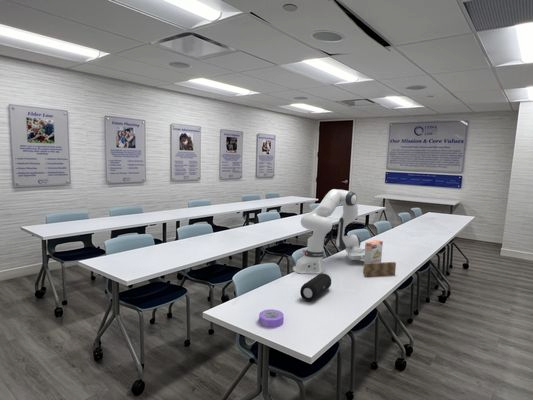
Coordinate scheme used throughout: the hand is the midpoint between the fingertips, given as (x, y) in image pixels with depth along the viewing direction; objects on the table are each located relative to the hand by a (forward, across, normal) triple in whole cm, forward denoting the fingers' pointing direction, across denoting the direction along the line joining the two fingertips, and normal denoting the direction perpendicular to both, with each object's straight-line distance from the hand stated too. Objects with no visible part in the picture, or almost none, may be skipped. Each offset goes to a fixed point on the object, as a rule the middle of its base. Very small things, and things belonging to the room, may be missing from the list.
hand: (366, 259), depth 249 cm
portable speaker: (+44, -54, +6) cm, 70 cm away
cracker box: (+7, +1, +6) cm, 9 cm away
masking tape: (+73, -87, +6) cm, 113 cm away
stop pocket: (+17, 0, +6) cm, 18 cm away
